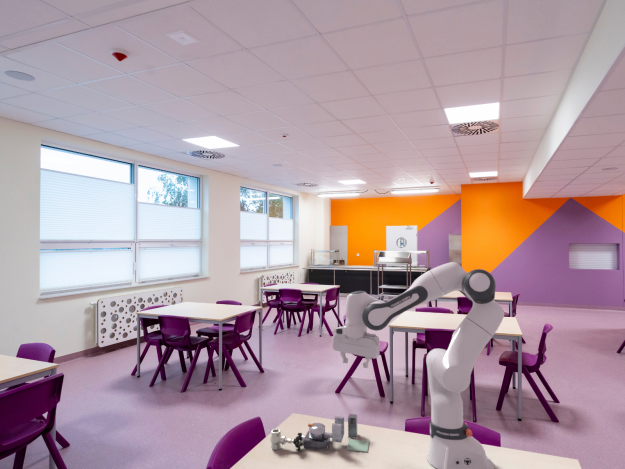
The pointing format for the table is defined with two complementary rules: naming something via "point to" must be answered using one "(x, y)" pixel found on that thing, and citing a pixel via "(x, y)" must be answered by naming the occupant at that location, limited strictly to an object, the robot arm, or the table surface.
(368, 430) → the table surface
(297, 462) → the table surface
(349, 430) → the grey tabbed block
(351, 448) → the felt pad
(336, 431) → the silver rounded housing
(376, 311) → the robot arm
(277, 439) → the valve
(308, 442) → the block
